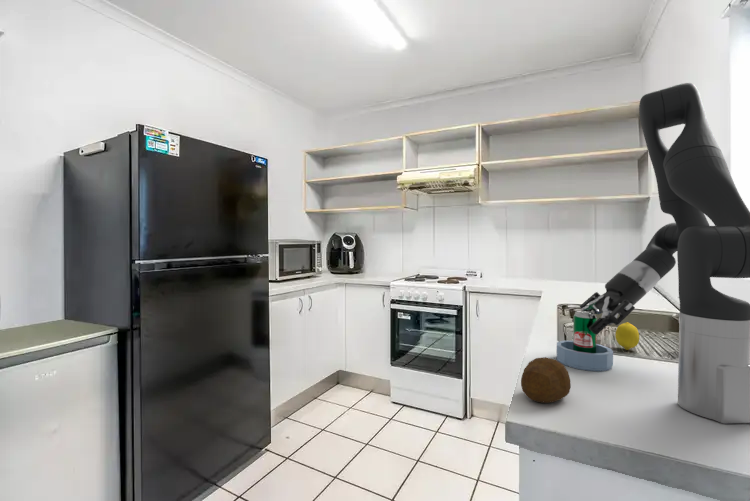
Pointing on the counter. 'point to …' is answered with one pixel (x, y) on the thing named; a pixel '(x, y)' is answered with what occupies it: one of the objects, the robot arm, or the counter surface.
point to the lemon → (627, 335)
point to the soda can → (584, 332)
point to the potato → (545, 380)
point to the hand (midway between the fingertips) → (583, 327)
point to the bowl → (585, 357)
